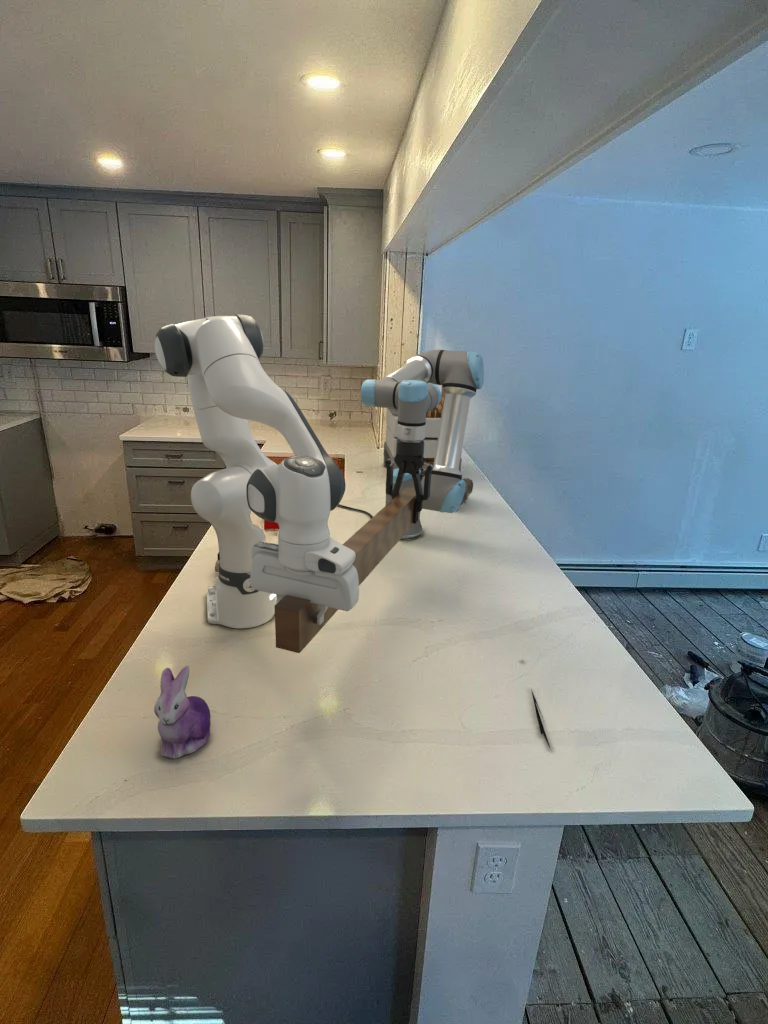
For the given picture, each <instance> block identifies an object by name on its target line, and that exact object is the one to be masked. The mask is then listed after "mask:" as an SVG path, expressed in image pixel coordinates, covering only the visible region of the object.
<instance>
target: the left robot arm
mask: <svg viewBox="0 0 768 1024" xmlns="http://www.w3.org/2000/svg"><path fill="white" fill-rule="evenodd" d="M154 352H155V356H156V359H157V361H158V362H159V364H160V366H161V367H162V368H163V370H164V372H165V373H167V374H168V375H169V376H171V377H176V378H186V377H187V378H188V388H189V395H190V400H191V405H192V409H193V412H194V413H193V414H194V417H195V421H196V424H197V428H198V432H199V436H200V440H201V442H202V444H203V445H204V446H205V447H206V449H208V450H210V451H212V452H215V453H216V454H218V456H219V457H220V458H221V460H222V462H223V463H224V465H225V468H223V469H219V470H216V471H213V472H210V473H208V474H207V475H205V476H203V477H202V478H200V479H199V480H197V481H196V482H195V483H194V484H193V485H192V487H191V491H190V502H191V505H192V508H193V510H194V512H195V513H196V514H197V515H198V516H199V517H200V518H201V519H203V520H204V521H207V522H209V524H210V525H211V526H212V527H213V530H214V531H215V534H216V538H217V544H218V553H219V555H220V564H219V568H218V572H217V576H216V577H215V578H214V580H213V583H214V585H213V586H212V585H210V586H208V587H207V592H206V616H207V623H209V624H211V625H212V624H213V625H221V626H224V627H227V628H231V629H251V628H254V627H255V628H256V627H258V626H262V625H264V624H266V623H267V622H269V621H270V620H271V619H273V617H275V605H276V604H277V603H278V602H279V601H280V600H281V599H282V598H284V597H285V596H286V595H289V596H294V597H298V598H303V599H308V600H310V603H314V604H318V609H321V611H320V612H319V611H317V612H316V613H315V614H314V615H313V623H315V624H318V625H321V624H322V623H323V621H324V613H325V612H326V610H327V609H328V608H329V607H331V608H335V609H338V610H340V611H343V612H349V611H351V610H352V609H353V608H354V607H355V606H356V605H357V604H358V602H359V599H360V585H359V579H358V573H357V570H356V568H355V567H354V566H353V565H352V564H353V562H354V561H355V557H356V554H355V552H354V551H353V550H351V549H349V548H348V547H346V546H344V545H343V544H342V543H340V542H338V541H337V540H335V539H334V538H332V537H331V536H330V535H331V533H330V527H329V517H330V514H331V512H332V511H334V510H335V509H336V508H337V507H339V506H338V504H340V503H341V501H342V500H343V497H344V495H345V492H346V479H345V476H344V473H343V471H342V470H341V469H340V467H339V465H338V464H337V463H336V462H335V461H334V460H333V458H331V456H330V455H329V453H328V452H327V450H326V449H325V448H324V446H323V445H322V443H321V441H320V439H319V438H318V436H317V435H316V433H315V431H314V430H313V428H312V426H311V424H310V423H309V421H308V420H307V418H306V416H305V415H304V413H303V411H302V410H301V408H300V406H299V405H298V404H297V402H296V400H295V399H294V398H293V397H292V395H291V394H290V393H289V392H288V391H286V390H284V389H283V388H281V387H280V386H279V385H278V384H276V383H275V382H274V381H273V379H272V378H271V377H270V376H269V375H268V374H267V373H266V371H265V370H264V368H263V366H262V365H261V362H260V359H261V357H262V356H263V354H264V337H263V333H262V330H261V328H260V326H259V323H258V321H256V319H254V317H253V316H251V315H247V314H237V313H236V314H234V315H215V316H213V315H212V316H204V317H203V318H199V319H198V318H197V319H193V320H187V321H184V322H179V323H177V324H175V323H170V324H167V325H165V326H162V327H160V328H158V330H157V332H156V334H155V341H154ZM249 421H252V422H255V423H259V424H263V425H266V426H268V427H271V428H272V429H275V430H276V431H278V432H279V433H280V434H281V435H282V436H283V437H284V439H285V441H286V442H287V445H288V446H289V447H290V449H291V451H292V453H293V454H294V455H291V456H288V457H286V458H284V459H283V460H282V461H281V462H280V463H278V464H277V463H276V462H274V461H273V460H271V459H270V458H269V457H267V456H266V454H265V453H264V452H263V451H262V449H261V448H260V447H259V445H258V443H257V440H255V437H254V435H253V432H252V430H251V426H250V423H249ZM251 512H252V513H253V514H254V515H255V516H257V517H259V518H260V519H262V520H263V521H264V520H266V521H269V522H276V523H278V525H279V529H278V533H277V543H271V542H267V539H266V534H265V531H264V529H262V528H261V527H259V526H258V525H256V524H254V523H253V521H252V517H251V514H252V513H251Z"/></svg>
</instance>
